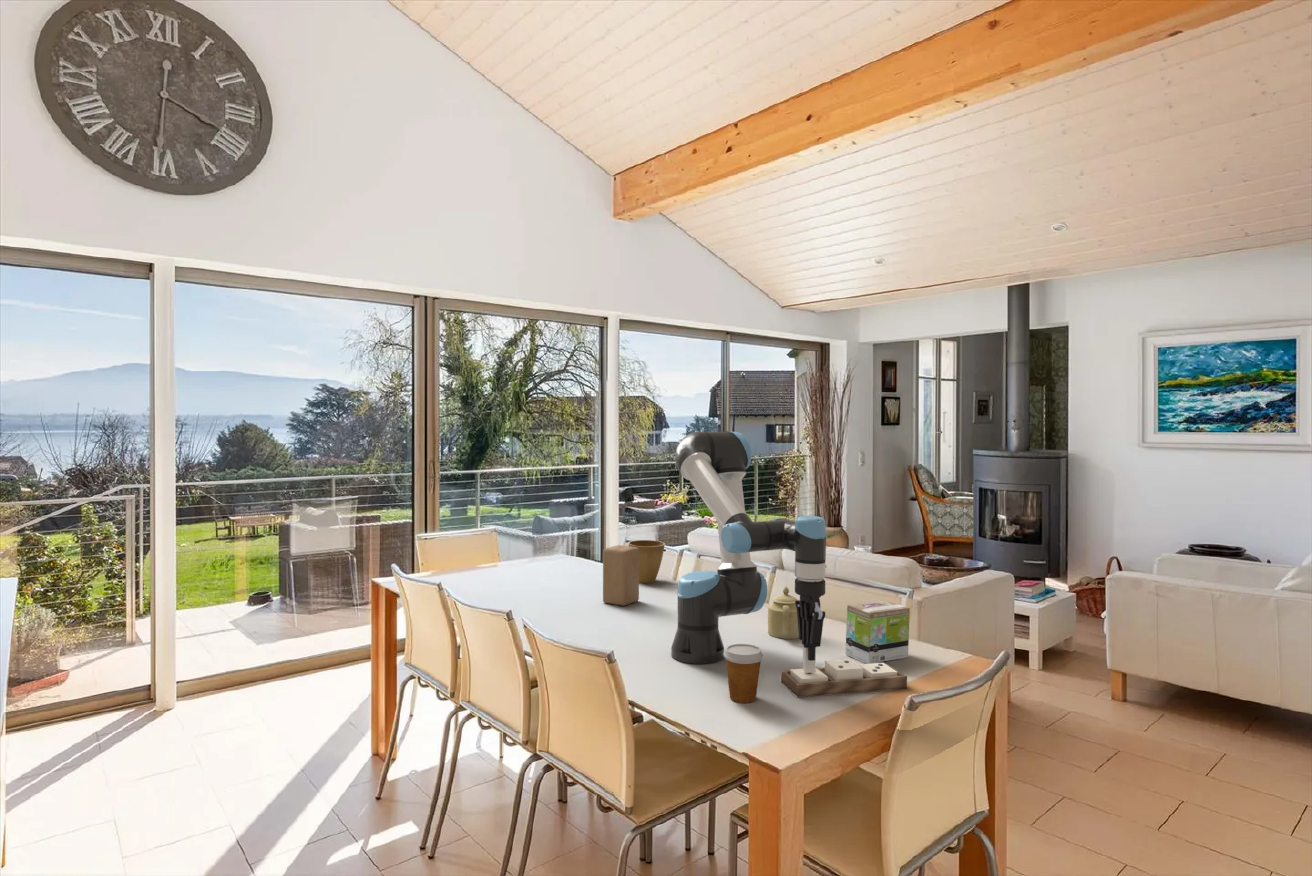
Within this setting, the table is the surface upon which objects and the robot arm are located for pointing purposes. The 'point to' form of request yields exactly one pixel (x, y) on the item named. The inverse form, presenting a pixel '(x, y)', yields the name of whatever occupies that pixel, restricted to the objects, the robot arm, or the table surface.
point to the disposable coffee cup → (743, 671)
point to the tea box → (877, 631)
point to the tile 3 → (878, 670)
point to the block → (620, 575)
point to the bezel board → (843, 684)
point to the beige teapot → (783, 616)
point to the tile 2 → (843, 670)
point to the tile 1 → (808, 676)
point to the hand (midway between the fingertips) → (809, 671)
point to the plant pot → (648, 559)
